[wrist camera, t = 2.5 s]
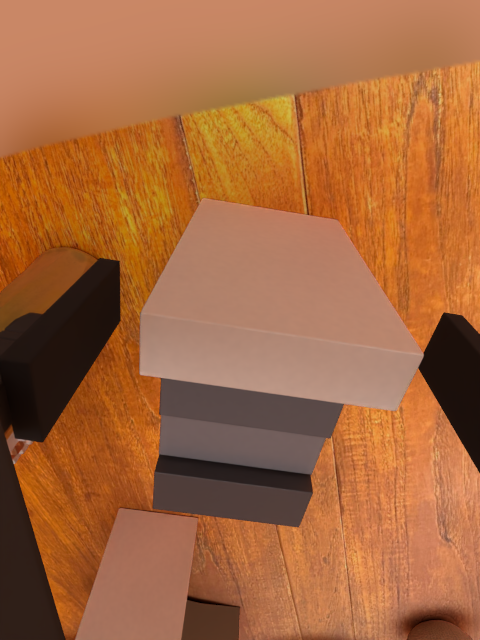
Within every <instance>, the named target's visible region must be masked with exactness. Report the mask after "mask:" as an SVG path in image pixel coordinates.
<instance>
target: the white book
mask: <svg viewBox="0 0 480 640" xmlns="http://www.w3.org/2000/svg"><path fill="white" fill-rule="evenodd" d="M423 357H424V354H423V352H422V351H421V349H420V347H419V346H418V344H417V343H416V341H415V340H414V338H413V337H412V335H411V333H410V332H409V330H408V329H407V327H406V326H405V324H404V322H403V321H402V319H401V318H400V316H399V315H398V313H397V312H396V310H395V308H394V307H393V305H392V304H391V302H390V301H389V299H388V298H387V296H386V294H385V293H384V291H383V290H382V288H381V287H380V285H379V283H378V282H377V280H376V279H375V277H374V276H373V274H372V273H371V271H370V269H369V268H368V266H367V265H366V263H365V262H364V260H363V259H362V257H361V255H360V254H359V252H358V251H357V249H356V248H355V246H354V244H353V243H352V241H351V240H350V238H349V237H348V235H347V234H346V232H345V230H344V229H343V227H342V226H341V224H340V223H339V221H338V220H336V219H330V218H323V217H317V216H311V215H305V214H299V213H293V212H287V211H281V210H274V209H268V208H262V207H256V206H250V205H244V204H238V203H231V202H225V201H219V200H213V199H207V198H202V200H201V202H200V204H199V206H198V207H197V209H196V211H195V213H194V215H193V217H192V218H191V220H190V222H189V224H188V226H187V228H186V230H185V231H184V233H183V235H182V237H181V239H180V241H179V242H178V244H177V246H176V248H175V250H174V252H173V254H172V255H171V257H170V259H169V261H168V263H167V265H166V266H165V268H164V270H163V272H162V274H161V276H160V277H159V279H158V281H157V283H156V285H155V287H154V289H153V290H152V292H151V294H150V296H149V298H148V300H147V301H146V303H145V305H144V307H143V309H142V311H141V312H140V363H139V373H140V375H145V376H152V377H159V378H166V379H173V380H180V381H187V382H194V383H201V384H208V385H215V386H222V387H229V388H236V389H243V390H250V391H257V392H264V393H271V394H278V395H285V396H292V397H299V398H306V399H313V400H320V401H327V402H334V403H341V404H348V405H355V406H362V407H369V408H377V409H384V410H391V411H396V410H397V408H398V407H399V405H400V403H401V401H402V399H403V397H404V395H405V393H406V391H407V389H408V387H409V385H410V383H411V381H412V379H413V377H414V375H415V373H416V371H417V369H418V367H419V365H420V363H421V361H422V359H423Z"/></svg>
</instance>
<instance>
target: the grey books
mask: <svg viewBox="0 0 480 640" xmlns="http://www.w3.org/2000/svg"><path fill="white" fill-rule="evenodd" d="M343 405H344V404H341V403H334V402H327V401H320V400H313V399H306V398H299V397H292V396H285V395H278V394H271V393H264V392H257V391H250V390H243V389H236V388H229V387H222V386H215V385H208V384H201V383H194V382H187V381H180V380H173V379H166V378H161V392H160V411H159V414H160V415H161V427H160V444H159V458H158V461H157V465H156V469H155V474H154V494H153V509H159V510H167V511H175V512H183V513H191V514H198V515H206V516H214V517H222V518H230V519H237V520H245V521H253V522H261V523H269V524H277V525H284V526H292V527H299V526H300V523H301V521H302V518H303V516H304V513H305V511H306V509H307V506H308V504H309V501H310V499H311V496H312V494H313V490H312V483H311V474H312V472H313V470H314V467H315V465H316V462H317V459H318V457H319V454H320V452H321V449H322V447H323V444H324V442H325V439H326V438H331V436H332V433H333V431H334V428H335V426H336V423H337V421H338V418H339V415H340V413H341V410H342V408H343Z"/></svg>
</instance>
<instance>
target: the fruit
mask: <svg viewBox="0 0 480 640" xmlns="http://www.w3.org/2000/svg"><path fill="white" fill-rule="evenodd" d="M407 640H472V638H471V637H470V636H469V635H468V634H467V633H466V632H464V631H463V630H462V629H460V628H459V627H457V626H456V625H454V624H452V623H450V622H447V621H443V620H430V621H425V622H422V623H419V624H418V625H416V626H415V627H414V628H413V629H412V630H411V632H410V633H409V635H408V638H407Z"/></svg>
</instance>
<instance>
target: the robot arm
mask: <svg viewBox="0 0 480 640" xmlns="http://www.w3.org/2000/svg"><path fill="white" fill-rule="evenodd" d="M119 322H120V261H116V260H109V259H103V258H100V259H98V260H97V261H96V262H95V263H94V264H93V265H92V266H91V267H90V268H89V269H88V270H87V271H86V272H85V273H84V274H83V275H82V276H81V277H80V278H79V279H78V280H77V281H76V282H75V283H74V284H73V285H72V286H71V287H70V288H69V289H68V290H67V291H66V292H65V293H64V294H63V295H62V296H61V297H60V298H59V299H58V300H57V301H56V302H55V303H54V304H53V305H52V306H51V307H50V308H49V309H47V310H46V311H45V312H44V313H43V314H39V313H32V312H30V313H28V314H25V315H23V316H21V317H19V318H17V319H15V320H14V321H13V322H11V323H10V324H9V325H8V326H7V327H6V328H5V330H2V331H1V332H0V640H65V636H64V633H63V630H62V626H61V623H60V619H59V616H58V613H57V609H56V606H55V603H54V599H53V596H52V592H51V589H50V586H49V582H48V579H47V576H46V572H45V569H44V565H43V562H42V559H41V555H40V552H39V549H38V545H37V542H36V538H35V535H34V532H33V528H32V525H31V521H30V518H29V515H28V511H27V508H26V505H25V501H24V498H23V494H22V491H21V488H20V484H19V481H18V478H17V474H16V471H15V467H14V464H13V461H12V457H11V454H10V451H9V447H8V444H7V440H6V437H5V434H4V433H5V432H6V430H7V429H8V428H9V427H10V425H11V424H12V428H13V432H14V437H15V439H22V440H29V441H36V442H43V441H44V440H45V438H46V437H47V435H48V433H49V432H50V430H51V429H52V427H53V426H54V424H55V423H56V421H57V419H58V418H59V416H60V415H61V413H62V412H63V410H64V408H65V407H66V405H67V404H68V402H69V401H70V399H71V397H72V396H73V394H74V393H75V391H76V390H77V388H78V386H79V385H80V383H81V382H82V380H83V379H84V377H85V375H86V374H87V372H88V371H89V369H90V368H91V366H92V365H93V363H94V361H95V360H96V358H97V357H98V355H99V354H100V352H101V350H102V349H103V347H104V346H105V344H106V343H107V341H108V339H109V338H110V336H111V335H112V333H113V332H114V330H115V328H116V327H117V325H118V324H119ZM423 354H424V357H423V359H422V361H421V363H420V365H419V367H418V368H419V370H420V372H421V373H422V375H423V377H424V379H425V380H426V382H427V384H428V385H429V387H430V389H431V391H432V392H433V394H434V396H435V397H436V399H437V401H438V403H439V404H440V406H441V408H442V409H443V411H444V413H445V415H446V416H447V418H448V420H449V421H450V423H451V425H452V426H453V428H454V430H455V432H456V433H457V435H458V437H459V438H460V440H461V442H462V444H463V445H464V447H465V449H466V450H467V452H468V454H469V456H470V457H471V459H472V461H473V462H474V464H475V466H476V467H477V469H478V471H479V473H480V334H479V333H478V332H477V331H476V330H475V329H474V328H473V327H472V326H471V324H470V323H469V322H468V321H467V320H466V319H465V318H464V317H463V316H462V315H456V314H450V313H443V315H442V317H441V319H440V321H439V323H438V325H437V327H436V329H435V331H434V333H433V335H432V337H431V339H430V341H429V343H428V345H427V347H426V349H425V351H424V353H423Z"/></svg>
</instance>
